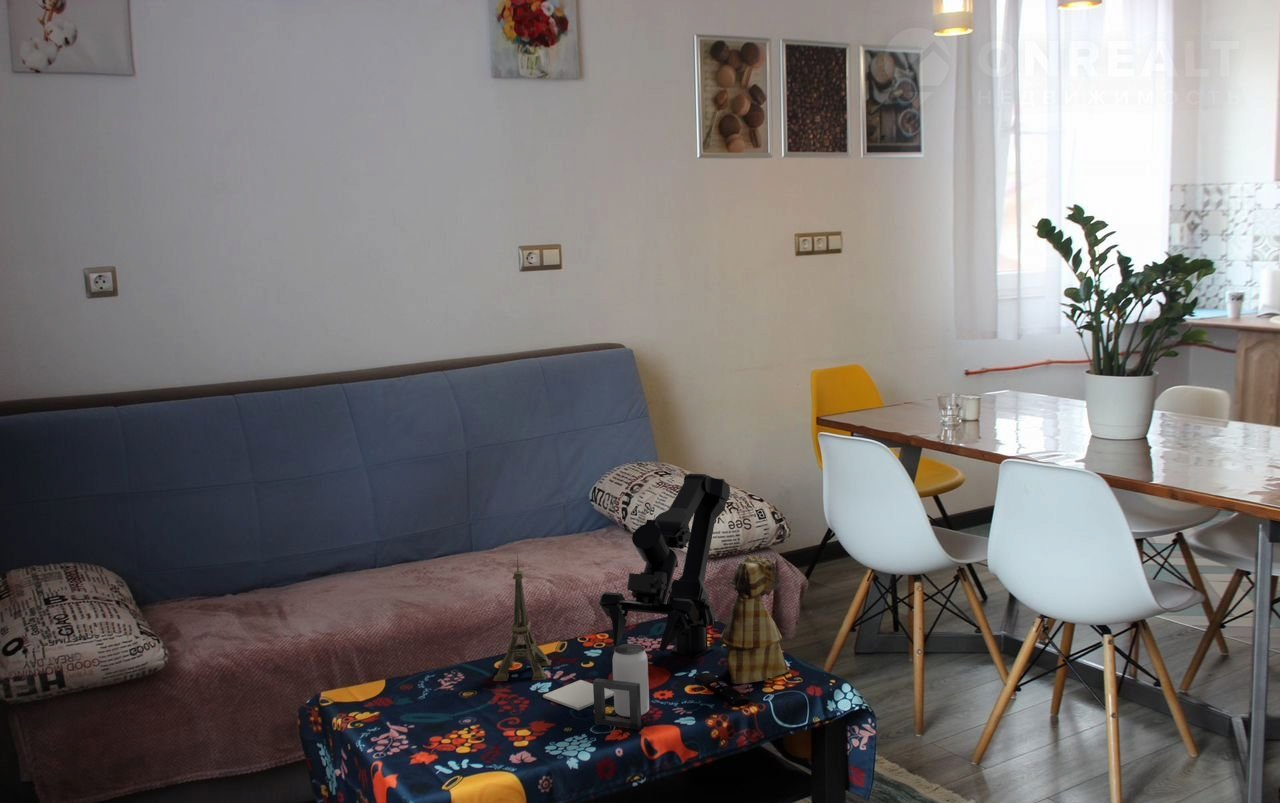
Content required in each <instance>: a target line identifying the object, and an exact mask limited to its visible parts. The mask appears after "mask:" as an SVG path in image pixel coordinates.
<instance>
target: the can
mask: <svg viewBox="0 0 1280 803" xmlns="http://www.w3.org/2000/svg"><path fill="white" fill-rule="evenodd" d="M648 663H649V662H648V655H647V653H646V651H645V646H644V645H641V644H638V643H625V644H619V645H618V646H617V647H614V653H613V655H612V680H616V681H624V682H632V683H640V702H641V717H642V716H644V715H646V714H648V711H650V691H649V667H648V666H649V664H648ZM613 691H614V696H613V700H614V701H613V704H614V705H613V706H614V707H613V708H614V712H615V713H616V714H617V715H618V716H620V717H621V718H630V704H629V691H626V690H618V689H613Z"/></svg>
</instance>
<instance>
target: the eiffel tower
mask: <svg viewBox="0 0 1280 803" xmlns="http://www.w3.org/2000/svg"><path fill="white" fill-rule="evenodd" d="M516 558H517V560H516V562H517V563H516V564H517V566H516V571H514V572H513V576H512V579H513V580H515V581H514V582H515V584H514V604H513V605H514V606H513V608H514V609H513V623H512V625H511V626H510V631H512V635H511V640H510V643H509V645H508V647H507V648H506V650H507V652H506V654H505V656H504V657H503V660H501V661H500V664H499V669H498V671H497V673H496V674H495V675H494V678H493V679H492V681H493V682H505V681H506V682H507V681H508V679H509V676H510V673H509V671H510V668H511V667H512V668H513V666H514V665H515V660H516V659H519V658H520V659H521V658H522V659H526V660H527V661H528V662H529V664H530V666H531V671H532V676H531V680H532V681H546V680H547V678H548V673H546V671H544V668H542V667H551V665H552V661H553V660H550V659H549V658H548V657H547V655H546V654H545V653H544V652H543V650H542V649H541V648H540V647H539V646H538V645H537V644H536V643H537V639H535V638H534V637H533V634H532V632H531V625H532V623H531V620H528V615H527V607H526V598H525V593H524V586H523V579H524V577H525V574H524V571H523V570H520V569H519V559H518V558H519V557H518V554H516ZM521 635H522V636H523V639H524V640H519V641H518V637H519V636H521Z"/></svg>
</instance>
